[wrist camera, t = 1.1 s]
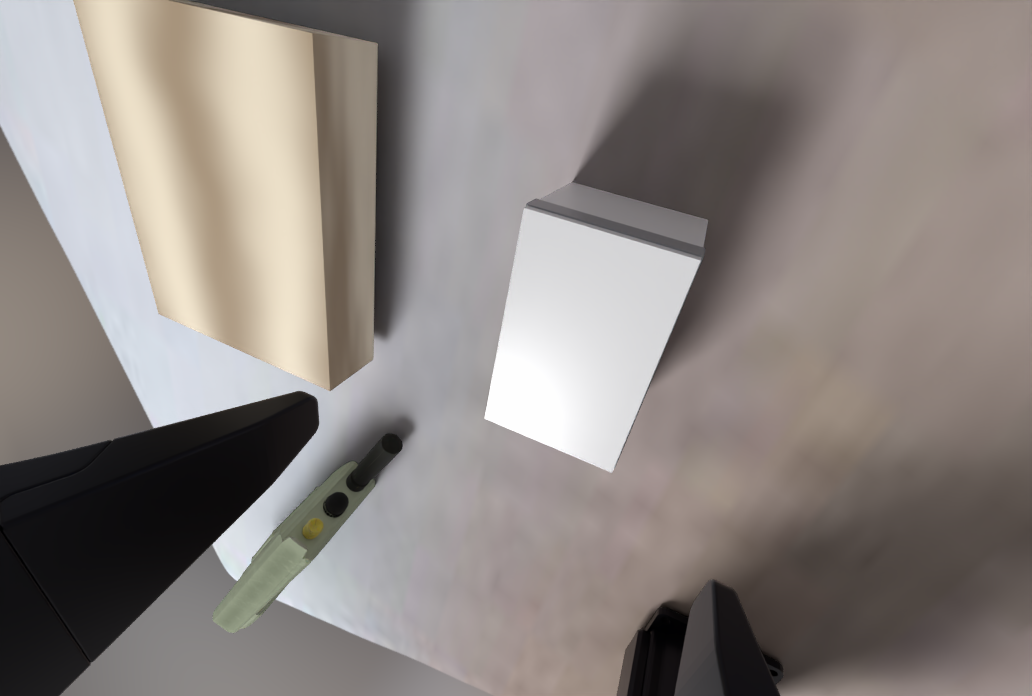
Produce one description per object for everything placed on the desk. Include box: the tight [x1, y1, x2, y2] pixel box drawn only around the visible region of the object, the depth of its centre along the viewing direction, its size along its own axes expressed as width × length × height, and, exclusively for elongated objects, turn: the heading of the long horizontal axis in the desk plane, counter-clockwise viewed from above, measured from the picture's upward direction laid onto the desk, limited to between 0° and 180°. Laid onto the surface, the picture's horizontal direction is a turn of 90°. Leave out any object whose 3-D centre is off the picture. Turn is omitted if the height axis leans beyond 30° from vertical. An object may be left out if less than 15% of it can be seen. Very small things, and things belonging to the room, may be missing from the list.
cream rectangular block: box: [73, 0, 378, 391], centre depth 21 cm, size 11×14×4 cm
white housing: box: [485, 182, 708, 473], centre depth 17 cm, size 5×8×5 cm, turn 169°
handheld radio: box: [213, 434, 403, 633], centre depth 32 cm, size 7×3×25 cm
